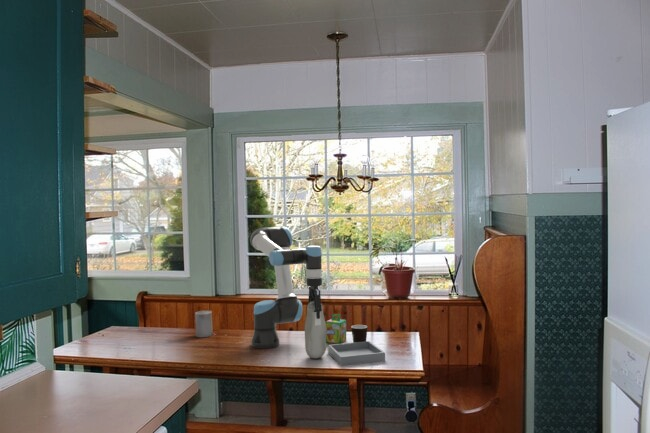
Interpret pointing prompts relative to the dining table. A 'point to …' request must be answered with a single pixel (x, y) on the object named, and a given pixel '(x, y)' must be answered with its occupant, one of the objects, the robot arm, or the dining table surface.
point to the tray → (356, 353)
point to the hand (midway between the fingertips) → (315, 322)
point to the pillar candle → (203, 323)
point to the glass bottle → (314, 333)
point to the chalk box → (336, 330)
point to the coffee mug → (359, 333)
